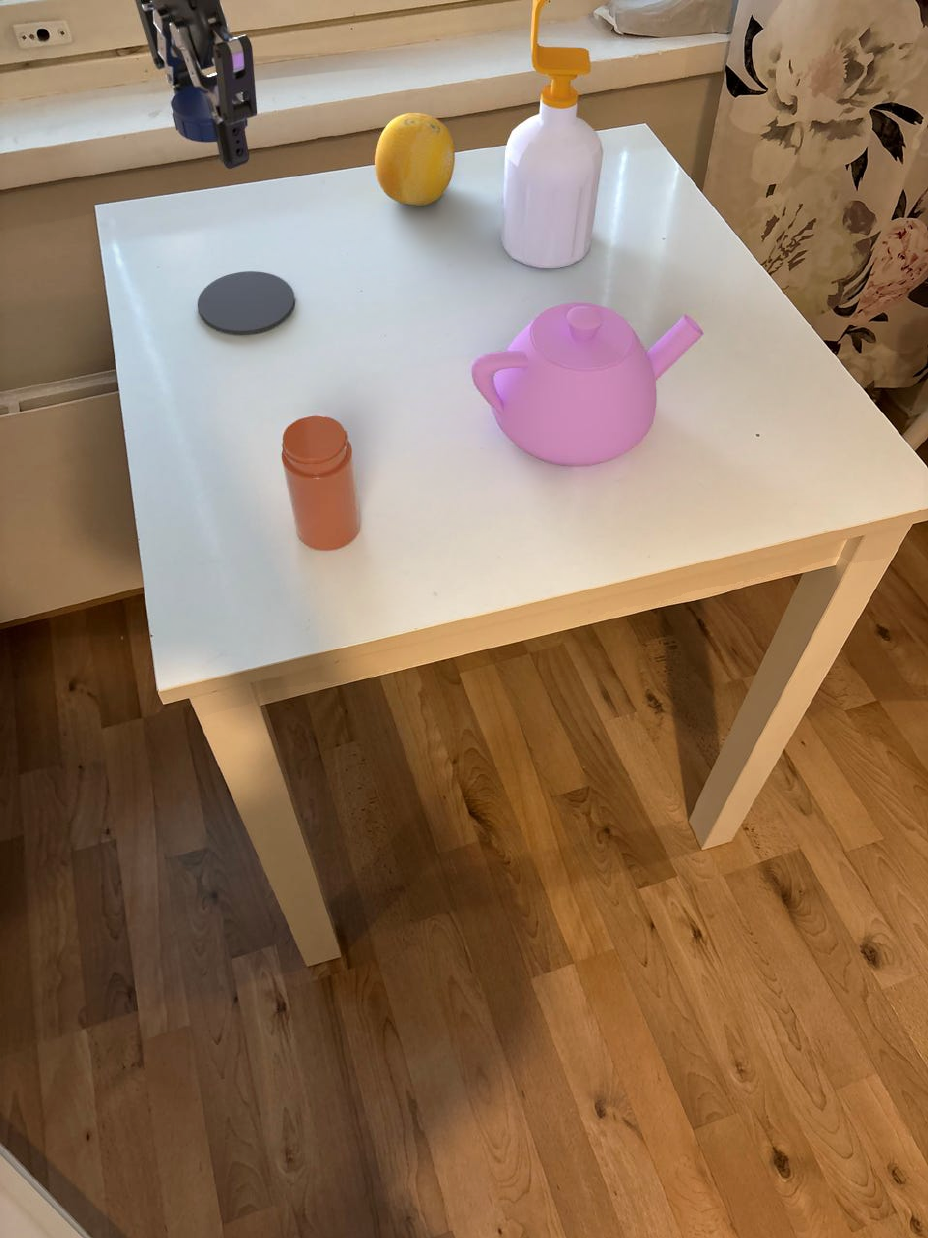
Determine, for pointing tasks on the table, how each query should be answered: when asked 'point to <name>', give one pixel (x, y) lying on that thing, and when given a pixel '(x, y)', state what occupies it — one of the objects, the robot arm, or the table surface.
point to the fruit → (414, 159)
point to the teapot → (578, 383)
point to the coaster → (246, 303)
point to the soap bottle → (552, 167)
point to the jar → (321, 482)
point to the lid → (194, 115)
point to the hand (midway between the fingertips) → (216, 146)
